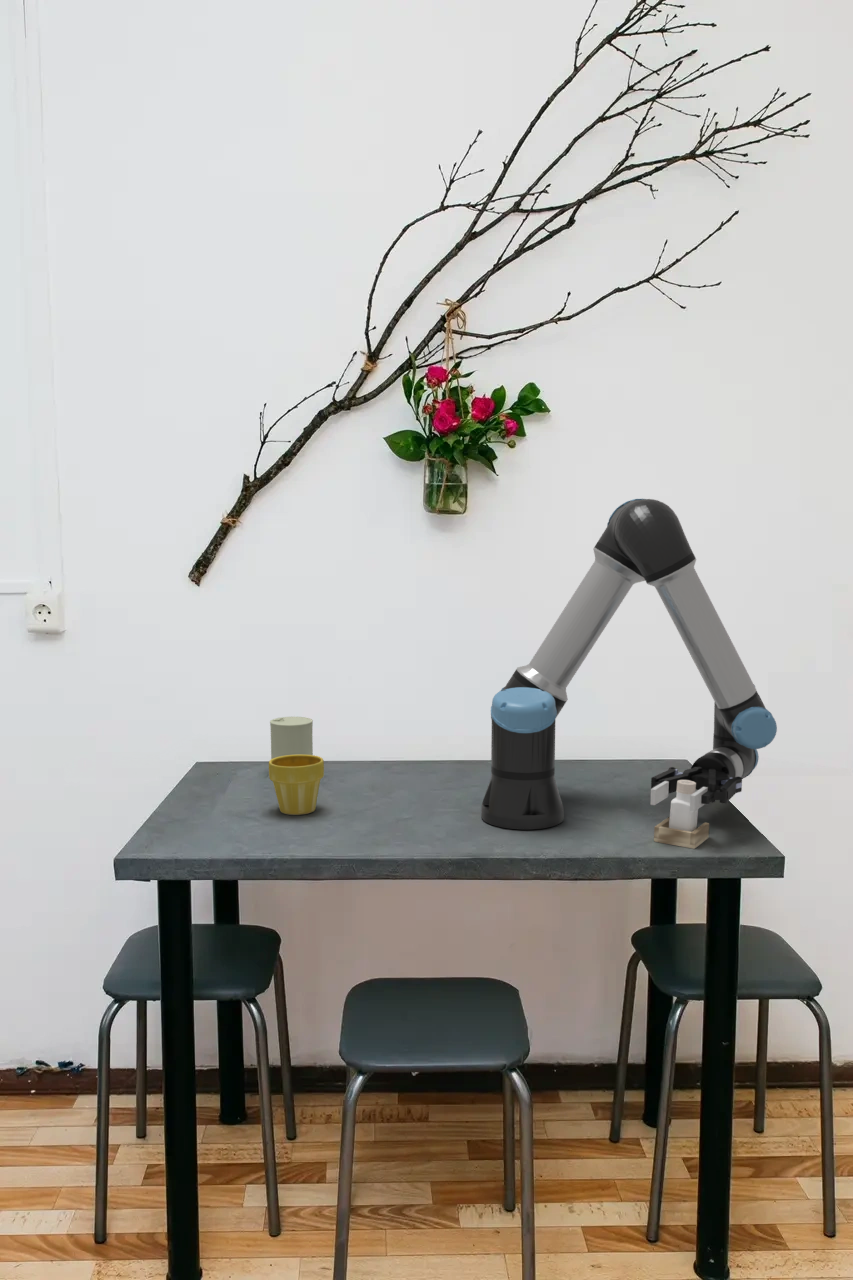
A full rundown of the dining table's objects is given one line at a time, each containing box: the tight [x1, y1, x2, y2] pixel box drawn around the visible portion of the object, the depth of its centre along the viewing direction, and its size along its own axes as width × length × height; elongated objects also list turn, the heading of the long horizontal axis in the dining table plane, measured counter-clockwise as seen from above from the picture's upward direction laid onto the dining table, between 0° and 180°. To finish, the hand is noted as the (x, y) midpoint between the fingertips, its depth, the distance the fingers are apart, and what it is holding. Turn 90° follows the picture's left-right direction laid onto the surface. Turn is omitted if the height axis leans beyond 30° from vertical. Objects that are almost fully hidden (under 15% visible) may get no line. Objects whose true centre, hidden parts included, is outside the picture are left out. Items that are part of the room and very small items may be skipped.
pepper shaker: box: [669, 780, 699, 832], centre depth 184 cm, size 4×4×10 cm
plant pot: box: [268, 754, 325, 816], centre depth 201 cm, size 10×10×10 cm
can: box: [269, 716, 314, 760], centre depth 229 cm, size 9×9×12 cm
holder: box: [653, 816, 710, 850], centre depth 184 cm, size 7×7×3 cm
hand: (672, 800), depth 179 cm, fingers open, 6 cm apart
